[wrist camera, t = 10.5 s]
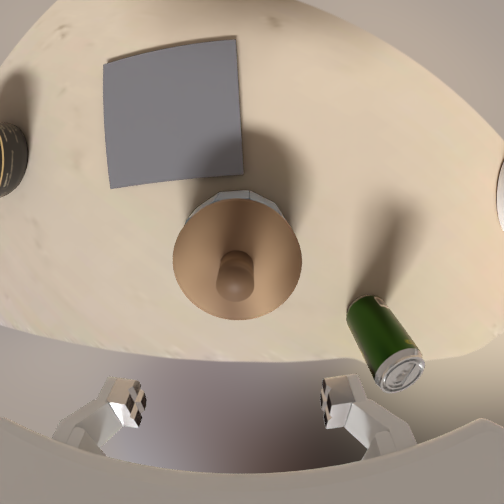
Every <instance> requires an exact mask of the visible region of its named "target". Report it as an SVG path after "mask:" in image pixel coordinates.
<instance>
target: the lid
mask: <svg viewBox="0 0 504 504" xmlns="http://www.w3.org/2000/svg"><path fill="white" fill-rule="evenodd" d="M301 267H302V256H301V250H300V245H299V243H298V240H297V238H296V236H295V234H294V232H293V230H292V228H291V227H290V225H289V224H288V222H287V221H286V220H285V219H284V218H283V217H282V216H281V215H280V214H279V213H278V212H276V211H275V210H274V209H272V208H270V207H269V206H267V205H265V204H262V203H260V202H257V201H253V200H250V199H242V198H232V199H225V200H220V201H217V202H214V203H212V204H209V205H207V206H205V207H204V208H202V209H200V210H199V211H198V212H197V213H195V214H194V215H193V216H192V217H191V218H190V219H189V220H188V222H187V223H186V224H185V226H184V227H183V229H182V230H181V231H180V233H179V235H178V237H177V240H176V243H175V246H174V251H173V269H174V273H175V277H176V280H177V282H178V284H179V286H180V288H181V290H182V291H183V293H184V294H185V295H186V297H187V298H188V299H189V300H190V301H191V302H192V303H193V304H195V305H196V306H197V307H198V308H200V309H201V310H203V311H205V312H207V313H209V314H211V315H213V316H216V317H219V318H224V319H229V320H247V319H253V318H257V317H260V316H263V315H265V314H268V313H270V312H272V311H273V310H275V309H276V308H278V307H279V306H280V305H281V304H283V303H284V302H285V301H286V300H287V299H288V298H289V296H290V295H291V294H292V292H293V291H294V289H295V287H296V285H297V283H298V280H299V277H300V273H301Z"/></svg>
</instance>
